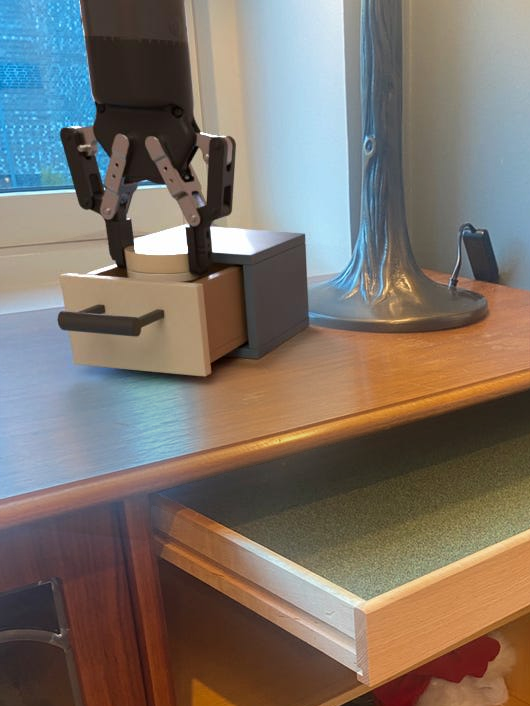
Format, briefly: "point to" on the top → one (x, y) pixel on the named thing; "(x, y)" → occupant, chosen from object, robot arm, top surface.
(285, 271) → the cabinet
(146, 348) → the drawer
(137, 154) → the robot arm
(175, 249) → the cream short cylinder
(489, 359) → the top surface
